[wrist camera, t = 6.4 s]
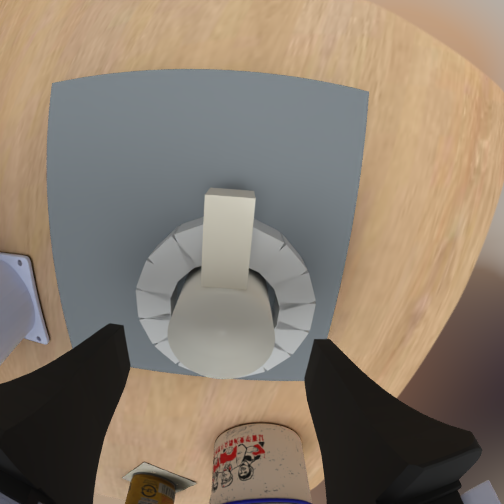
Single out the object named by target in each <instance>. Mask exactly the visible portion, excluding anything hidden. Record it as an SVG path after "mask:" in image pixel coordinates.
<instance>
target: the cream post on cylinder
mask: <svg viewBox="0 0 504 504" xmlns="http://www.w3.org/2000/svg"><path fill="white" fill-rule="evenodd" d="M255 201H256V198H255V193H254V191H249V190H236V189H223V188H210V189H209V190H208V191H207V193H206V194H205V202H204V220H203V242H202V266H199V267H195V268H193V269H192V270H191V271H190V272H189V273H188V275H187V278H186V280H185V283H184V285H183V288H182V291H181V293H180V296H179V298H178V301H177V304H176V306H175V309H174V311H173V314H172V317H171V319H170V322H169V325H168V342H169V345H170V348H171V350H172V352H173V353H174V355H175V356H176V358H177V359H178V360H179V361H180V362H181V363H182V364H183V365H184V366H186V367H187V368H188V369H190V370H192V371H193V372H195V373H198V374H200V375H203V376H206V377H210V378H216V379H233V378H239V377H242V376H245V375H248V374H250V373H252V372H254V371H256V370H257V369H259V368H260V367H261V366H262V365H264V364H265V362H266V361H267V360H268V359H269V357H270V356H271V354H272V351H273V349H274V345H275V332H274V326H273V319H272V313H271V307H270V301H269V295H268V288H267V283H266V279H265V278H264V277H263V276H262V275H261V274H260V273H259V272H256V271H254V270H252V269H250V268H249V263H250V252H251V242H252V232H253V221H254V211H255Z"/></svg>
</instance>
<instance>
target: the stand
mask: <svg viewBox="0 0 504 504" xmlns="http://www.w3.org/2000/svg"><path fill="white" fill-rule="evenodd" d="M368 98H369V92H368V91H364V90H360V89H356V88H351V87H347V86H342V85H338V84H333V83H328V82H322V81H317V80H311V79H305V78H299V77H292V76H285V75H277V74H268V73H259V72H247V71H233V70H212V69H168V70H146V71H133V72H122V73H112V74H104V75H97V76H90V77H83V78H77V79H71V80H66V81H61V82H56V83H52V89H51V97H50V107H49V119H48V135H47V197H48V213H49V225H50V235H51V244H52V252H53V259H54V266H55V272H56V278H57V284H58V289H59V294H60V299H61V304H62V308H63V313H64V317H65V321H66V325H67V329H68V333H69V337H70V341H71V344H72V348H74V347H76V346H77V345H79V344H80V343H82V342H83V341H84V340H86V339H87V338H89V337H90V336H91V335H93V334H94V333H96V332H97V331H98V330H100V329H101V328H103V327H104V326H106V325H107V324H109V323H112V324H119V325H124V331H125V337H126V343H127V348H128V354H129V359H130V364H131V366H130V367H133V368H139V369H146V370H152V371H159V372H167V373H175V374H183V375H192V376H202V377H206V376H203V375H200V374H198V373H195V372H193V371H192V370H190V369H188V368H187V367H186V366H184V365H183V364H182V363H181V362H180V361H179V360H178V359H177V358H176V356H175V355H174V353H173V352H172V350H171V348H170V345H169V342H168V325H169V322H170V319H171V317H172V314H173V311H174V309H175V306H176V304H177V301H178V298H179V296H180V293H181V291H182V288H183V285H184V283H185V280H186V278H187V275H188V273H189V272H190V271H191V270H192V269H193V268H195V267H199V266H202V242H203V220H204V202H205V194H206V193H207V191H208V190H209V189H210V188H223V189H236V190H249V191H254V193H255V198H256V201H255V211H254V221H253V232H252V242H251V252H250V263H249V268H250V269H252V270H254V271H256V272H259V273H260V274H261V275H262V276H263V277H264V278H265V279H266V283H267V288H268V295H269V301H270V307H271V313H272V319H273V326H274V332H275V345H274V349H273V351H272V354H271V356H270V357H269V359H268V360H267V361H266V362H265V364H264V365H262V366H261V367H260V368H259V369H257V370H256V371H254V372H252V373H250V374H248V375H245V376H242V377H239V378H233V379H244V380H269V381H305V380H304V377H305V373H306V369H307V365H308V362H309V358H310V354H311V350H312V346H313V341H314V339H327V337H328V333H329V329H330V325H331V321H332V317H333V313H334V309H335V305H336V301H337V297H338V293H339V288H340V284H341V279H342V275H343V270H344V266H345V261H346V256H347V251H348V246H349V241H350V235H351V230H352V224H353V219H354V213H355V207H356V201H357V194H358V188H359V181H360V174H361V166H362V158H363V150H364V141H365V132H366V122H367V111H368Z"/></svg>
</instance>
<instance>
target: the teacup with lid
mask: <svg viewBox="0 0 504 504" xmlns="http://www.w3.org/2000/svg"><path fill="white" fill-rule="evenodd" d="M209 504H312V501H311V495H310V489H309V483H308V477H307V471H306V466H305V460H304V454H303V448H302V443H301V439H300V437H299V436H298V435H297V434H296V433H295V432H294V431H292V430H291V429H289V428H286V427H283V426H280V425H275V424H264V423H259V424H248V425H242V426H238V427H235V428H232V429H230V430H228V431H226V432H224V433H223V434H221V435H220V436H219V437H218V439H217V440H216V442H215V446H214V461H213V477H212V494H211V497H210V501H209Z"/></svg>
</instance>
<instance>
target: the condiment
mask: <svg viewBox="0 0 504 504" xmlns="http://www.w3.org/2000/svg"><path fill="white" fill-rule="evenodd" d="M151 472H152V473H151ZM153 472H156V473H153ZM123 479H125V480H128V481H130V487H129V491H128V494H127V499H126V502H125V504H174V499H175V493H176V492H179V491H182V490H185V489H186V488H188V487H190V486H193V485H195V484H197V483H195V482H192V481H190V480H188V479H185V478H182V477H180V476H178V475H175V474H172V473H170V472H168V471H167V470H162V469H159V468H157V467H155V466H152V465H150V464H147V463H145V462H144V463H142V464H141V465H140V466H139V467H137V468H136V469H134V470H132V471H131V472H129V473H128V474H126V475H125V476H124V477H123ZM177 484H178V485H177Z"/></svg>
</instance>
